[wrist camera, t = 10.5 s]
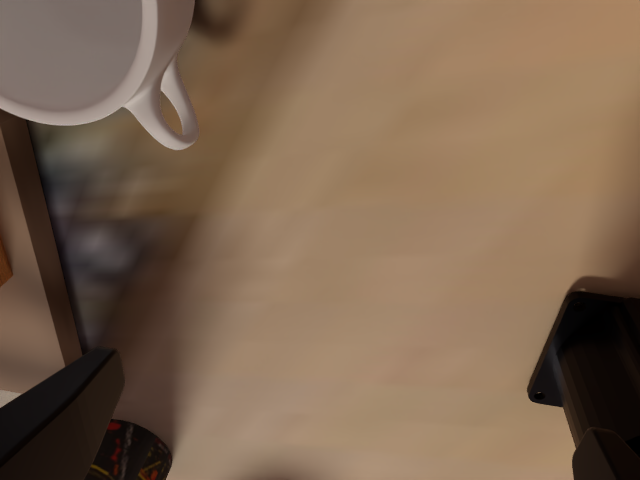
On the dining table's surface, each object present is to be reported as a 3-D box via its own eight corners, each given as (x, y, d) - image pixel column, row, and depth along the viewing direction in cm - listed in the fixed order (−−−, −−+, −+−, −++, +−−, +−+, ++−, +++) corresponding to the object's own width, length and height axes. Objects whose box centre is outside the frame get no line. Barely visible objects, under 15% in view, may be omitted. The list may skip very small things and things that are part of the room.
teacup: (-41, -80, 18) (-196, -79, 13) (110, -250, 15) (-21, -324, 10) (150, 158, 22) (82, 223, 17) (302, 61, 19) (268, 108, 14)
